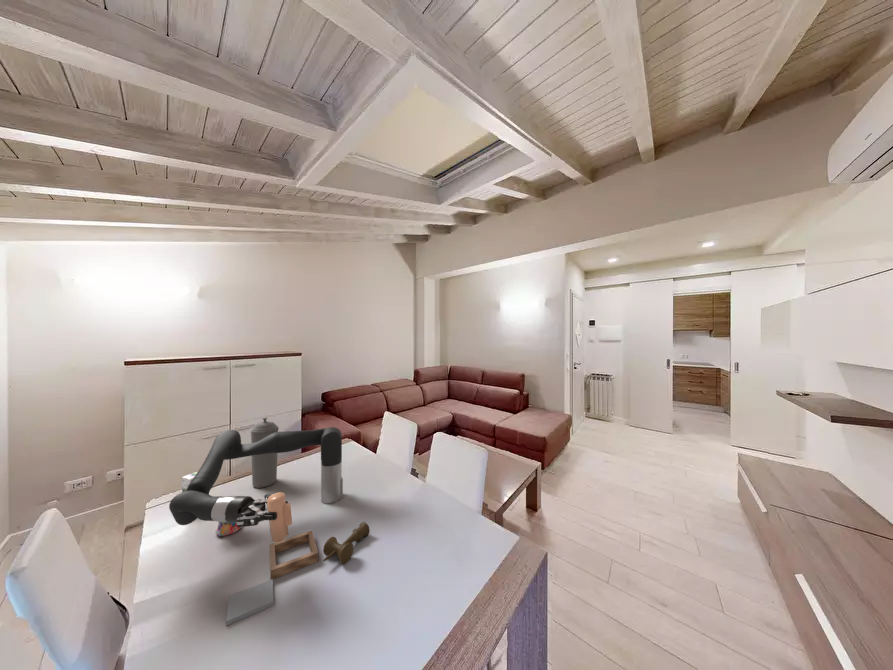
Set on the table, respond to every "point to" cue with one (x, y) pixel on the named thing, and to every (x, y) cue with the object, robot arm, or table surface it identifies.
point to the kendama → (345, 544)
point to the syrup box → (187, 481)
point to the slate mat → (250, 601)
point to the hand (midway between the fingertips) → (281, 510)
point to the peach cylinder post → (279, 516)
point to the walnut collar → (297, 562)
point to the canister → (263, 456)
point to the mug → (226, 528)
